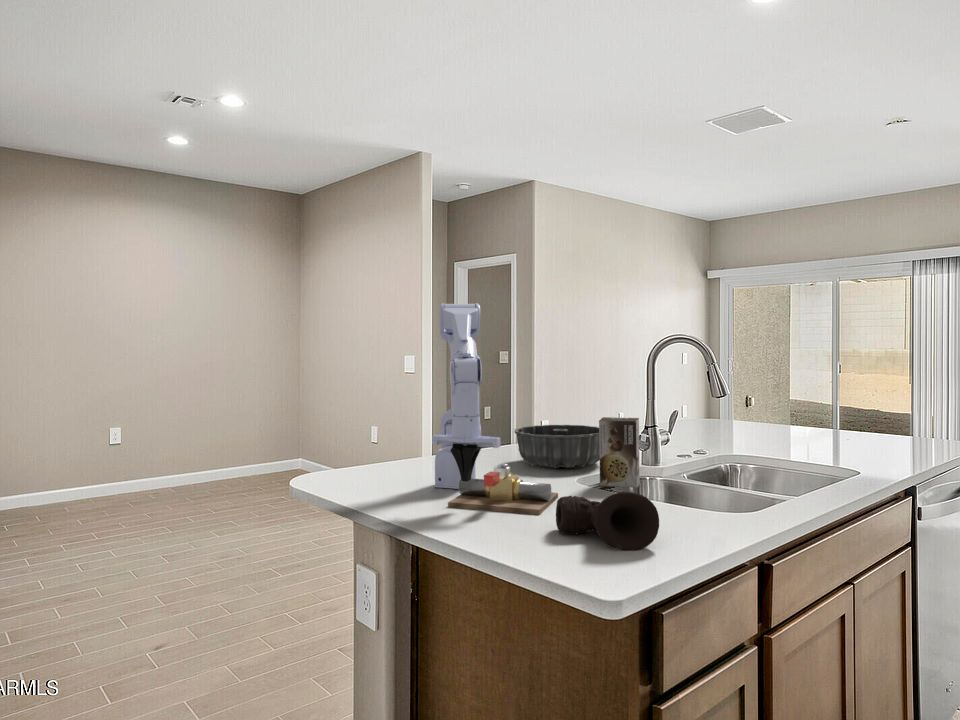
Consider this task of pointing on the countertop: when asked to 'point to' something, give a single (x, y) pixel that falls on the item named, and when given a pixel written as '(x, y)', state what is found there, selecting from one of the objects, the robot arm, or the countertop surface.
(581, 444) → the bundt pan
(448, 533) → the countertop surface
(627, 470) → the coffee box
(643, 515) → the pipe
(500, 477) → the valve lever
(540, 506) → the mount board
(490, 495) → the valve body
